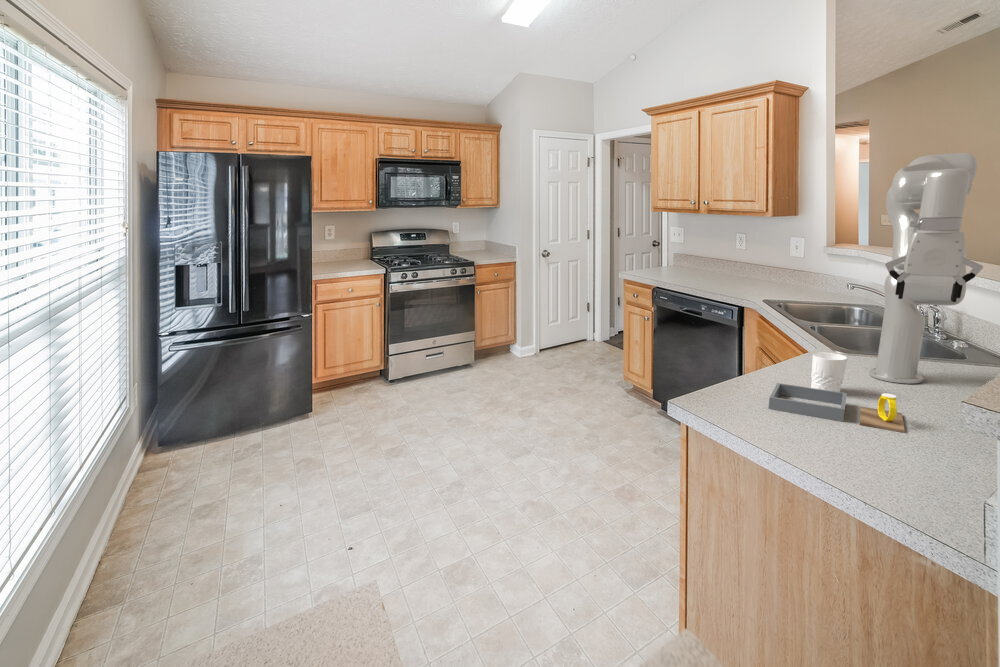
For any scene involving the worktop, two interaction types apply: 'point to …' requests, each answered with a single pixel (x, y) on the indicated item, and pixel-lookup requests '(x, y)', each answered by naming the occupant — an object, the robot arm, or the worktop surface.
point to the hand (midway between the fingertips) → (926, 299)
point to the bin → (805, 407)
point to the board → (880, 420)
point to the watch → (892, 407)
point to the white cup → (828, 371)
